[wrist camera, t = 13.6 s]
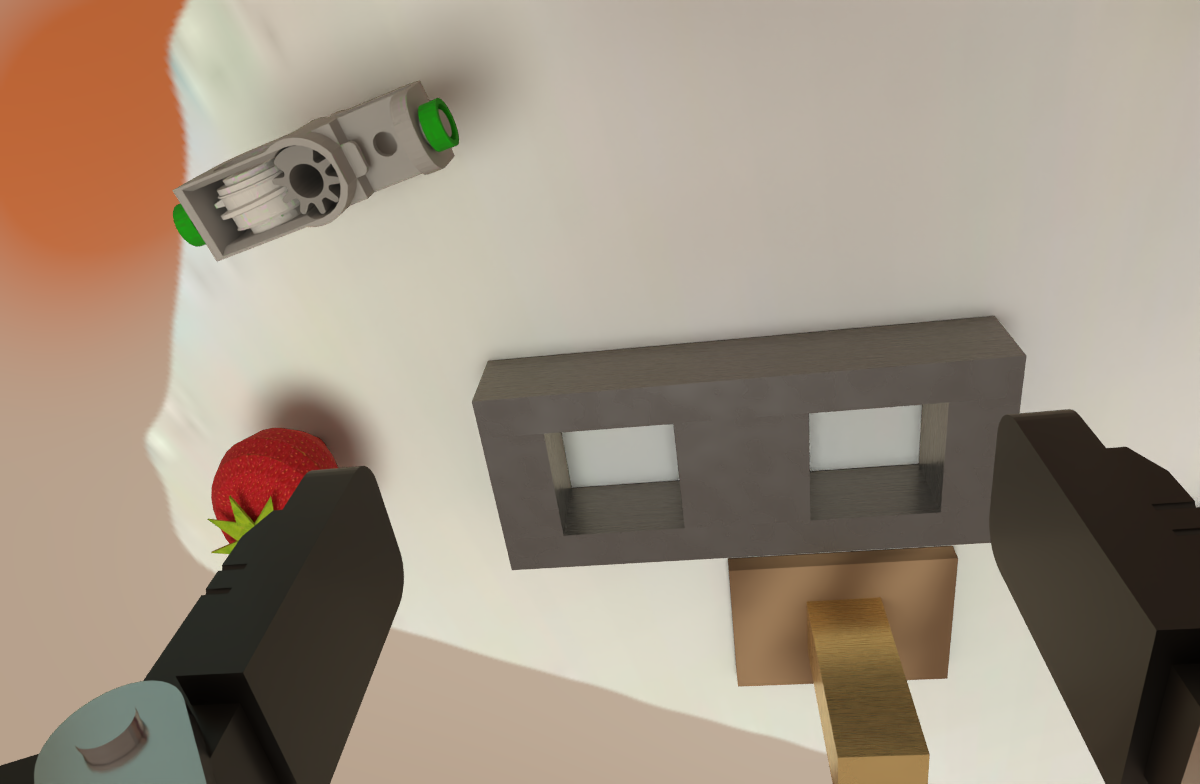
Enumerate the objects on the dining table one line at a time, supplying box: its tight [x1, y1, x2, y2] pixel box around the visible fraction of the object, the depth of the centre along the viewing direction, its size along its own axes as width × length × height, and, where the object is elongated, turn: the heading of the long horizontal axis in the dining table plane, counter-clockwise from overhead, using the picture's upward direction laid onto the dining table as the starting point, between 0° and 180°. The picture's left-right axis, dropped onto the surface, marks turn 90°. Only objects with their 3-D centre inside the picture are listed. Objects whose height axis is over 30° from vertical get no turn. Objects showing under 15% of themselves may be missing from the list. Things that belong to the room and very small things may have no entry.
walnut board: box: [728, 546, 958, 686], centre depth 48 cm, size 12×9×1 cm
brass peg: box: [806, 597, 930, 784], centre depth 44 cm, size 4×4×10 cm
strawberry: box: [208, 428, 338, 554], centre depth 41 cm, size 6×8×10 cm
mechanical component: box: [173, 81, 459, 261], centre depth 32 cm, size 3×10×10 cm, turn 111°
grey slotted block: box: [472, 316, 1026, 570], centre depth 41 cm, size 24×10×4 cm, turn 98°
